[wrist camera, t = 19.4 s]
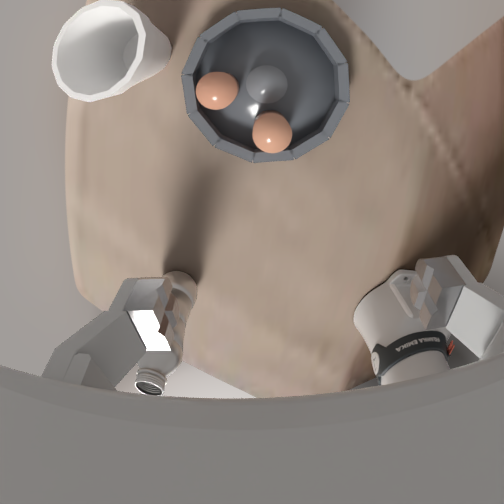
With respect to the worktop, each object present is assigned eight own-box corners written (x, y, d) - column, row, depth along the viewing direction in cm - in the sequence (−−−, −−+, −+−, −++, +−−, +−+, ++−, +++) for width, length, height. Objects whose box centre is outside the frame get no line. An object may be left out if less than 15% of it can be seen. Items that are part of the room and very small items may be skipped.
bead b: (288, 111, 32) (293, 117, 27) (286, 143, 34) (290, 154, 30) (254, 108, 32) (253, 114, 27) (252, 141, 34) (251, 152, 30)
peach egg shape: (202, 74, 29) (193, 74, 25) (237, 70, 29) (234, 69, 25) (206, 106, 31) (198, 112, 27) (240, 102, 31) (238, 107, 27)
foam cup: (118, 20, 25) (59, 8, 14) (189, 18, 26) (153, -7, 15) (110, 89, 30) (49, 104, 20) (178, 90, 31) (137, 102, 20)
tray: (336, 13, 25) (342, 9, 22) (343, 151, 35) (350, 158, 32) (181, 24, 26) (174, 21, 24) (200, 161, 36) (196, 168, 34)
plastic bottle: (165, 296, 49) (133, 399, 33) (157, 264, 46) (114, 370, 29) (202, 297, 49) (181, 404, 33) (196, 264, 45) (167, 376, 29)
